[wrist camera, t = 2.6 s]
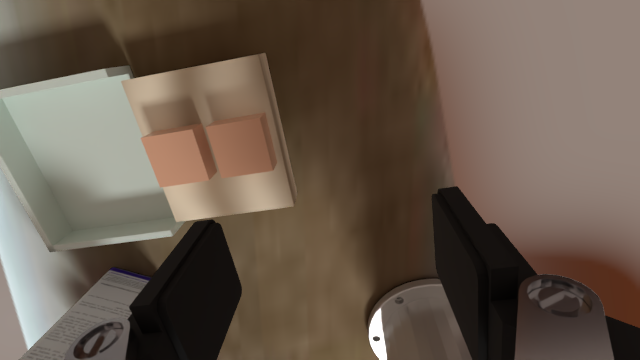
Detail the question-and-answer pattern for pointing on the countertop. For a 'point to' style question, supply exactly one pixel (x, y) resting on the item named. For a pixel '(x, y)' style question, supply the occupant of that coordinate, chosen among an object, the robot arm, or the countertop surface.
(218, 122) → the tile
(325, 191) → the countertop surface
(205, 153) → the tile
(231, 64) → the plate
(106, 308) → the supplement box
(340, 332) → the countertop surface
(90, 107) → the tray
